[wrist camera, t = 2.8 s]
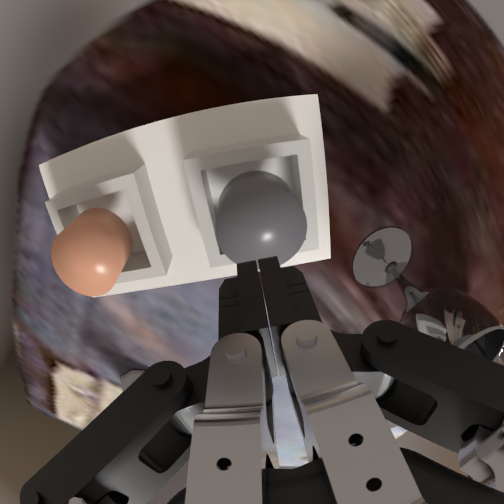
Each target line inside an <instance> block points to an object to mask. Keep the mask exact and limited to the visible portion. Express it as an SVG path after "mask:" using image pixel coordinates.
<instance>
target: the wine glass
mask: <svg viewBox="0 0 504 504" xmlns="http://www.w3.org/2000/svg"><path fill="white" fill-rule="evenodd" d="M412 256H413V243H412V240H411V238H410V236H409V235H408V233H406V232H405V231H404V230H402V229H400V228H396V227H387V228H383V229H380V230H378V231H376V232H374V233H372V234H371V235H369V236H368V237H367V238H366V239H365V240H364V241H363V242H362V243H361V245H360V246H359V248H358V249H357V251H356V254H355V256H354V260H353V267H352V268H353V274H354V277H355V278H356V280H357V281H358V282H359V283H360V284H361V285H363V286H364V287H367V288H373V289H375V288H382V287H385V286H388V285H390V284H392V283H394V282H395V281H396V282H397V283H398V285H399V287H400V289H401V291H402V293H403V295H404V299H405V306H404V310H403V313H402V316H401V319H400V322H399V323H401V324H403V325H405V326H408V327H410V328H413V329H415V330H417V331H420V332H422V333H425V334H427V335H430V336H432V337H434V338H437V339H439V340H442V341H444V342H447V343H449V344H452V345H454V346H456V347H459V348H461V349H464V350H466V351H469V352H471V353H474V354H476V355H479V356H481V357H484V358H486V359H488V360H491V361H493V362H496V361H497V360H498V358H499V357H500V355H501V353H502V351H503V349H504V328H503V326H502V325H501V324H500V323H499V321H498V320H497V319H496V318H495V317H494V316H493V314H492V313H491V312H490V311H489V310H488V309H487V308H486V307H485V306H484V305H482V304H481V303H480V302H479V301H477V300H476V299H475V298H473V297H472V296H470V295H468V294H467V293H465V292H463V291H461V290H459V289H456V288H453V287H437V288H429V289H421V288H418V287H416V286H414V285H413V284H412V283H410V282H409V281H408V280H407V279H406V278H405V277H404V276H403V274H404V273H405V271H406V270H407V268H408V267H409V265H410V263H411V260H412Z"/></svg>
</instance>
